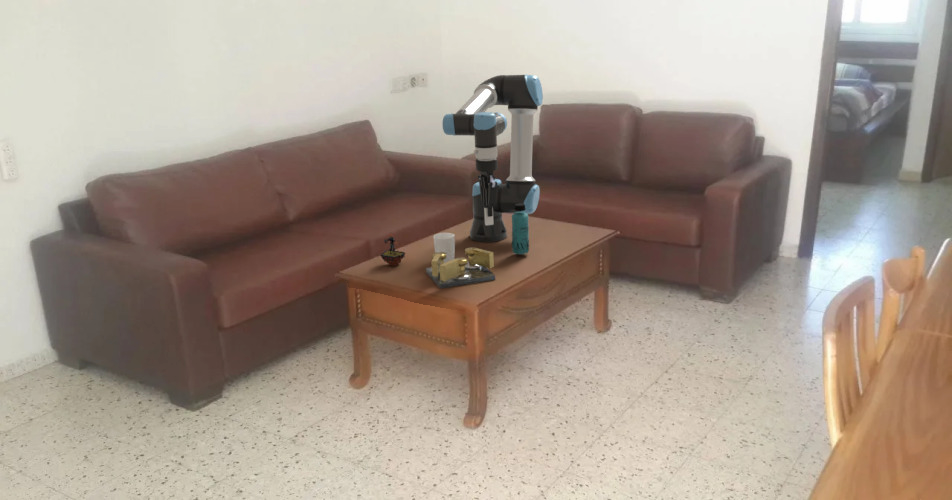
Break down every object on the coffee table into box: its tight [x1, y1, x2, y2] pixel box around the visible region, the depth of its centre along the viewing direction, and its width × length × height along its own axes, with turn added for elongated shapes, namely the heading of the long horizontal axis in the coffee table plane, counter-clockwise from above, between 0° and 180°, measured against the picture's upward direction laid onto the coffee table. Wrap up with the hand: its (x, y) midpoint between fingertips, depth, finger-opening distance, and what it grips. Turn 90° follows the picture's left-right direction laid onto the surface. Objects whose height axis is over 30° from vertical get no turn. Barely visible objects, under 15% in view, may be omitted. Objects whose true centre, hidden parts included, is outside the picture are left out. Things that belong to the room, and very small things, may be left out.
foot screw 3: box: [464, 247, 495, 269], centre depth 280 cm, size 12×5×6 cm, turn 47°
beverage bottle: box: [511, 203, 530, 255], centre depth 295 cm, size 6×7×20 cm
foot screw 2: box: [440, 257, 469, 281], centre depth 270 cm, size 12×5×6 cm, turn 139°
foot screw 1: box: [431, 252, 446, 276], centre depth 276 cm, size 12×5×6 cm, turn 172°
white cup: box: [433, 232, 456, 263], centre depth 294 cm, size 8×8×10 cm
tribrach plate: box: [425, 261, 496, 289], centre depth 279 cm, size 20×18×3 cm
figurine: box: [380, 234, 406, 267], centre depth 292 cm, size 10×8×12 cm
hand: (489, 224), depth 277 cm, fingers closed
